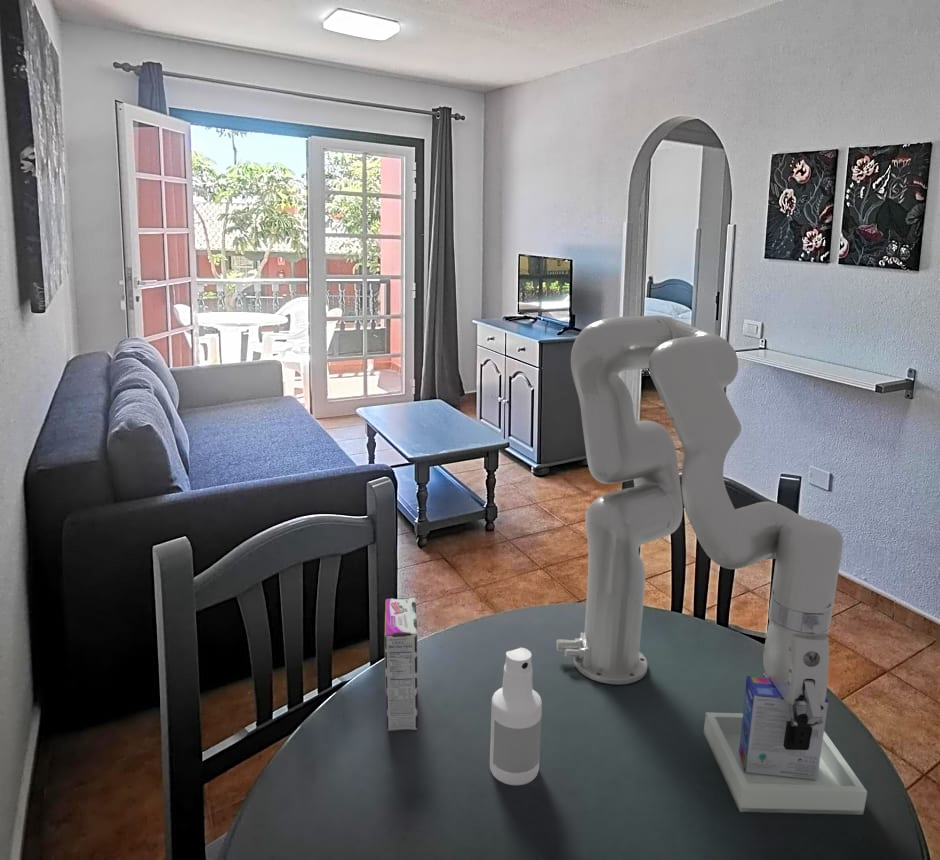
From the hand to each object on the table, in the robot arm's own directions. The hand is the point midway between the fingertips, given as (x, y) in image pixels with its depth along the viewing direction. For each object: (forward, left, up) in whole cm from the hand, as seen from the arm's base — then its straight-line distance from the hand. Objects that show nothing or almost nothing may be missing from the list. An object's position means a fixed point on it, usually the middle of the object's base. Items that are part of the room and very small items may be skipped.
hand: (783, 727), depth 103 cm
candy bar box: (-54, +12, -7) cm, 56 cm away
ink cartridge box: (0, 0, -7) cm, 7 cm away
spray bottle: (-37, -1, -7) cm, 38 cm away
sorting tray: (0, 0, -7) cm, 7 cm away
